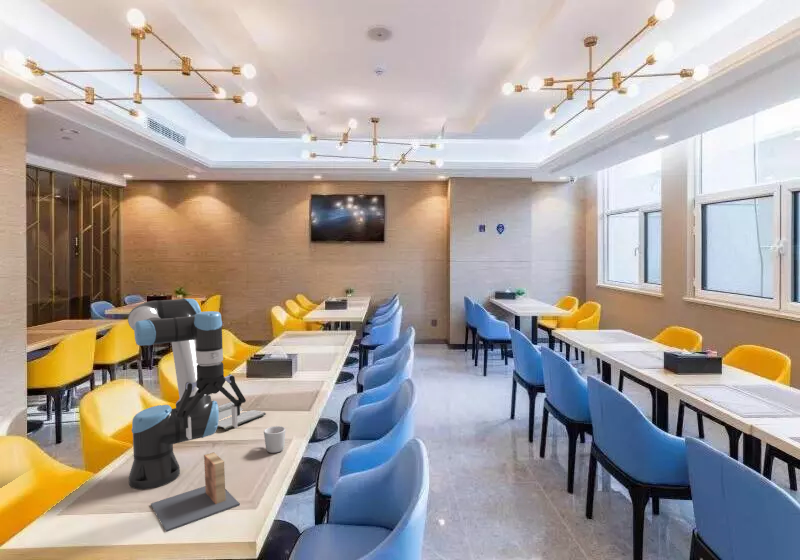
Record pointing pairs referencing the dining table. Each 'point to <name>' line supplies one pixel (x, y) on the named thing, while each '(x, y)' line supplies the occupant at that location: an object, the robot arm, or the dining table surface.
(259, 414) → the mat
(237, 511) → the dining table surface
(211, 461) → the tan block
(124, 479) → the dining table surface
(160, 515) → the slate mat
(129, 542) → the dining table surface
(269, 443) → the cup
